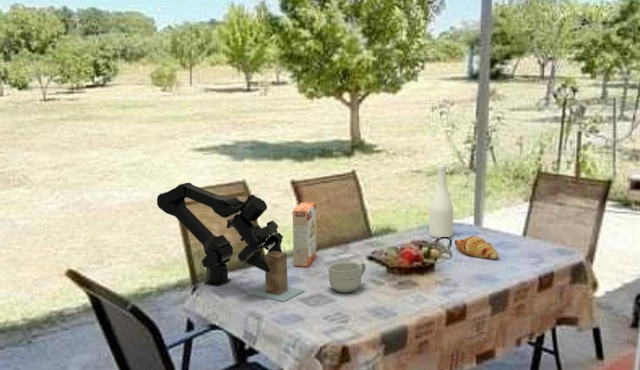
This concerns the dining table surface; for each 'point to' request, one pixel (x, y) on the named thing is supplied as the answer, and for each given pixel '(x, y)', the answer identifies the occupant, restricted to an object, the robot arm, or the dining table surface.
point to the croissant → (476, 247)
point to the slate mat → (282, 298)
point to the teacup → (346, 275)
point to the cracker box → (304, 234)
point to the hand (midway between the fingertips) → (277, 267)
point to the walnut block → (276, 273)
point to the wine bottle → (441, 208)
